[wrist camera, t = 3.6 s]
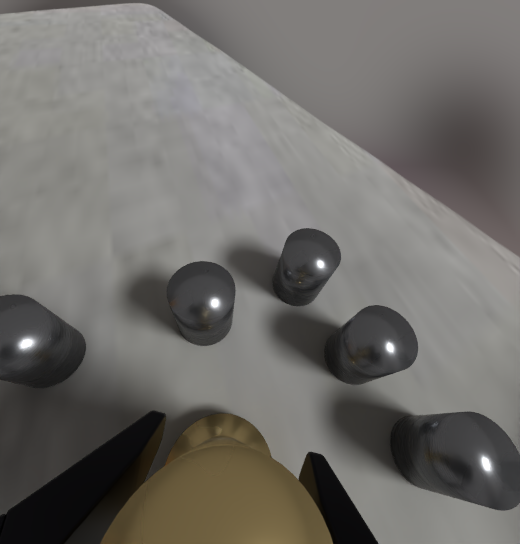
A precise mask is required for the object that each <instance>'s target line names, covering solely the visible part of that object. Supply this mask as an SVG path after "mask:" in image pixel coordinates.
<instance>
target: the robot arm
mask: <svg viewBox="0 0 520 544" xmlns="http://www.w3.org/2000/svg"><path fill="white" fill-rule="evenodd" d="M165 421H166V414H165V413H162V412H158V411H151V412H149V413H148V414H146V415H145V416H143V417H142V418H140V419H139V420H138V421H136V422H135V423H133V424H132V425H130V426H129V427H128V428H126V429H125V430H123V431H122V432H120V433H119V434H117V435H116V436H115V437H113V438H112V439H110V440H109V441H107V442H106V443H105V444H103V445H102V446H100V447H99V448H97V449H96V450H95V451H93V452H92V453H90V454H89V455H87V456H86V457H84V458H83V459H82V460H80V461H79V462H77V463H76V464H74V465H73V466H72V467H70V468H69V469H67V470H66V471H64V472H63V473H61V474H60V475H59V476H57V477H56V478H54V479H53V480H51V481H50V482H49V483H47V484H46V485H44V486H43V487H41V488H40V489H39V490H37V491H36V492H34V493H33V494H31V495H30V496H28V497H27V498H26V499H24V500H23V501H21V502H20V503H18V504H17V505H16V506H14V507H13V508H11V509H10V510H8V512H7V514H6V515H5V514H3V515H1V516H0V544H100V543H101V541H102V539H103V537H104V535H105V533H106V532H107V530H108V529H109V527H110V525H111V524H112V522H113V521H114V519H115V517H116V516H117V514H118V513H119V512H120V510H121V509H122V508H123V506H124V505H125V504H126V502H127V501H128V500H129V499H130V497H131V496H132V495H133V494H134V493H135V492H136V491H137V490H138V489H139V488H140V487H141V485H142V484H143V483H144V481H145V479H146V476H147V474H148V471H149V469H150V467H151V464H152V462H153V460H154V457H155V455H156V453H157V450H158V448H159V446H160V443H161V440H162V436H163V431H164V426H165ZM299 481H300V483H301V484H302V485H303V486H304V487H305V489H306V490H307V492H308V493H309V494H310V496H311V497H312V499H313V500H314V502H315V504H316V505H317V507H318V509H319V511H320V513H321V515H322V516H323V519H324V521H325V523H326V526H327V528H328V530H329V533H330V535H331V538H332V542H333V544H378V542H377V540H376V539H375V537H374V536H373V534H372V532H371V531H370V529H369V528H368V526H367V524H366V523H365V521H364V520H363V518H362V516H361V515H360V513H359V512H358V510H357V508H356V507H355V505H354V504H353V502H352V500H351V499H350V497H349V496H348V494H347V492H346V491H345V489H344V488H343V486H342V484H341V483H340V481H339V480H338V478H337V476H336V475H335V473H334V472H333V470H332V468H331V467H330V465H329V464H328V462H327V460H326V459H325V457H324V456H323V455H321V454H318V453H314V452H308V453H307V455H306V458H305V461H304V464H303V466H302V469H301V472H300V476H299Z"/></svg>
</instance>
